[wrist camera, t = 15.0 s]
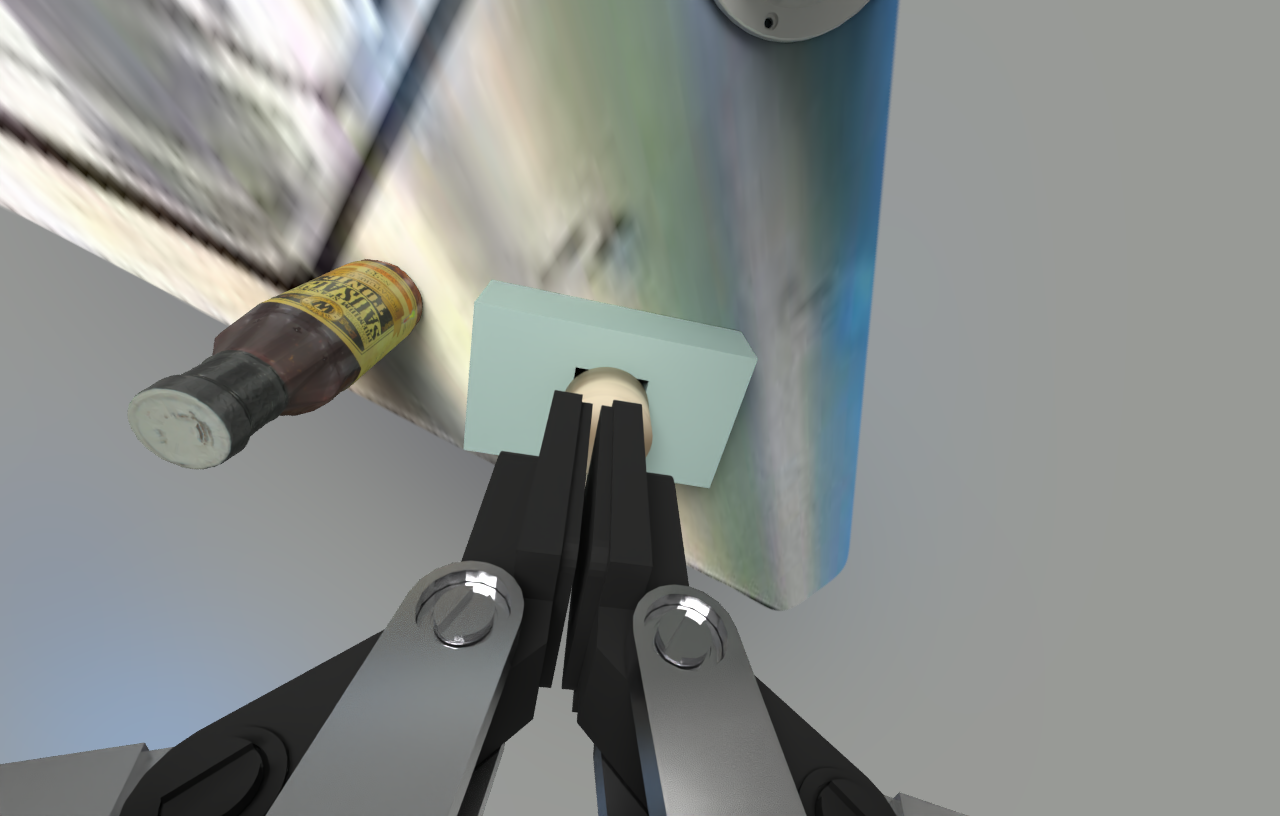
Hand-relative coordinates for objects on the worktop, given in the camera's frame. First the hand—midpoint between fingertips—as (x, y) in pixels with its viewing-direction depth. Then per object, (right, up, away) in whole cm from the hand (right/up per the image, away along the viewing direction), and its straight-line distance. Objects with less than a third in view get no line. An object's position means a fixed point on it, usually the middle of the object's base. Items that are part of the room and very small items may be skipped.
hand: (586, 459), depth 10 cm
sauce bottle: (-19, +10, +29) cm, 35 cm away
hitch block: (-2, +4, +32) cm, 33 cm away
